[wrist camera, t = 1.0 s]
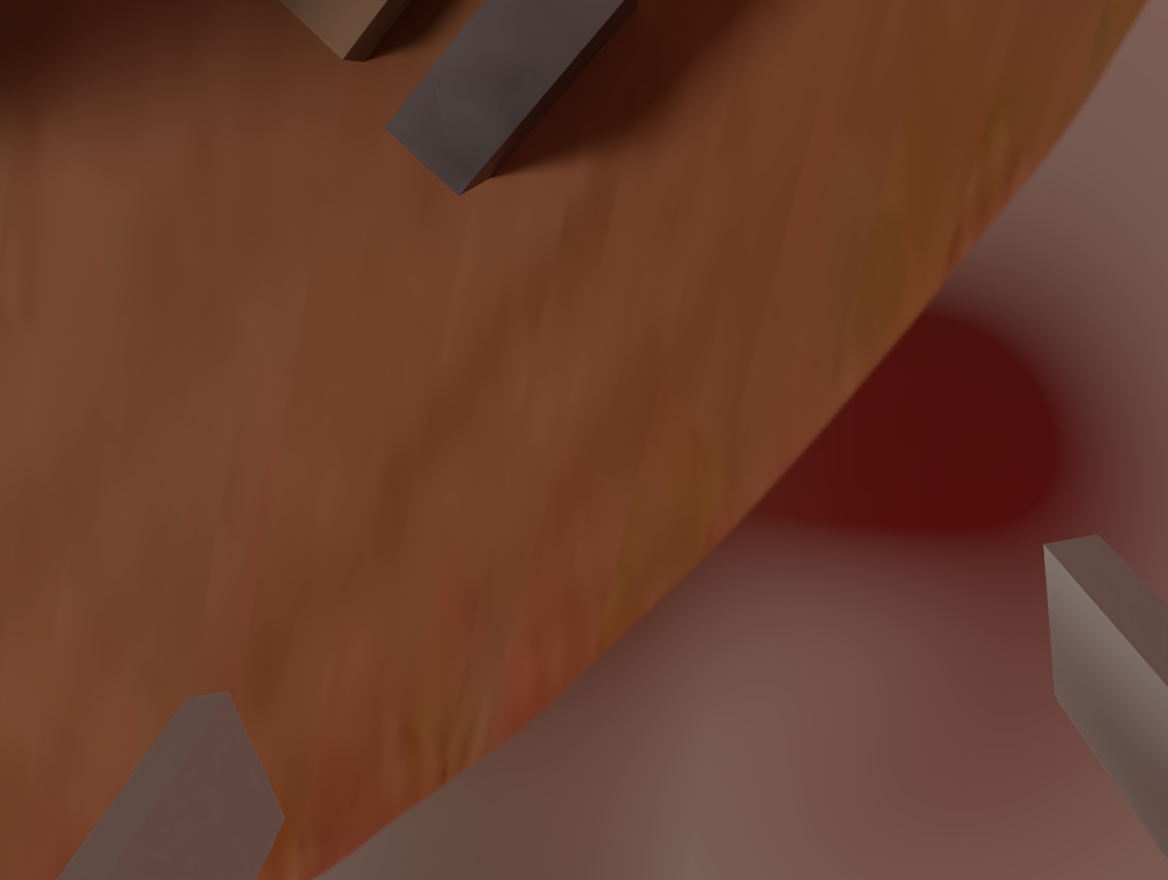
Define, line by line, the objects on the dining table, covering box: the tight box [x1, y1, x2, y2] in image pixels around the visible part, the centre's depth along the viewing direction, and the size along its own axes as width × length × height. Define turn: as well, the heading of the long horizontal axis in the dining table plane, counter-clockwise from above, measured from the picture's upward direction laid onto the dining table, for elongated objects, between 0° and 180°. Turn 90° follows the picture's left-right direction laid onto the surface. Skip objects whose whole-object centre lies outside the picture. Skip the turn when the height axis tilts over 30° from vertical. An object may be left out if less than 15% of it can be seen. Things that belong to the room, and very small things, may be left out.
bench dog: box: [385, 0, 638, 196], centre depth 31 cm, size 3×8×6 cm, turn 137°
